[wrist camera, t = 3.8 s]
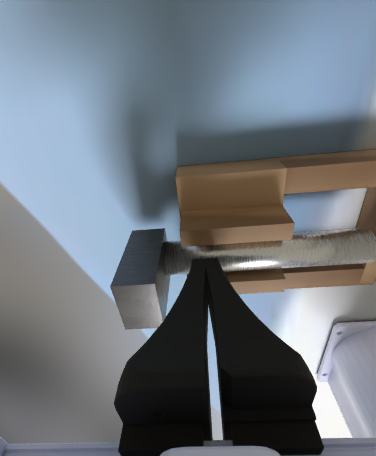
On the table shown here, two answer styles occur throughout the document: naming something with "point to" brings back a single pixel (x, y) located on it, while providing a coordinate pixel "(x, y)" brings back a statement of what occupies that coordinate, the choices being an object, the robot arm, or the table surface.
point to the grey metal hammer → (229, 260)
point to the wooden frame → (272, 211)
